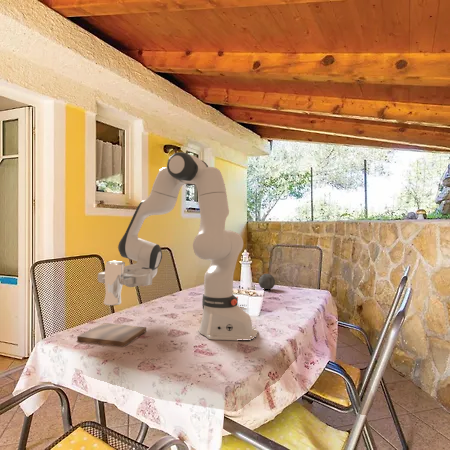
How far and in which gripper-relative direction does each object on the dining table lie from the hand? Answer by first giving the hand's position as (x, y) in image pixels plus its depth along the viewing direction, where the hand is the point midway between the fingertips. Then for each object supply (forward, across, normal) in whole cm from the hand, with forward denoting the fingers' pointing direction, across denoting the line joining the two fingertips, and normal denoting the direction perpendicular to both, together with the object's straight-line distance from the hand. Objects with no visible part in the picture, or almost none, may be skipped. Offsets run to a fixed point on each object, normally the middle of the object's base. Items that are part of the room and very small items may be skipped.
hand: (113, 281), depth 121 cm
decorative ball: (-101, +44, +21) cm, 112 cm away
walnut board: (-1, 0, +20) cm, 20 cm away
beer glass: (-1, -1, +8) cm, 8 cm away
